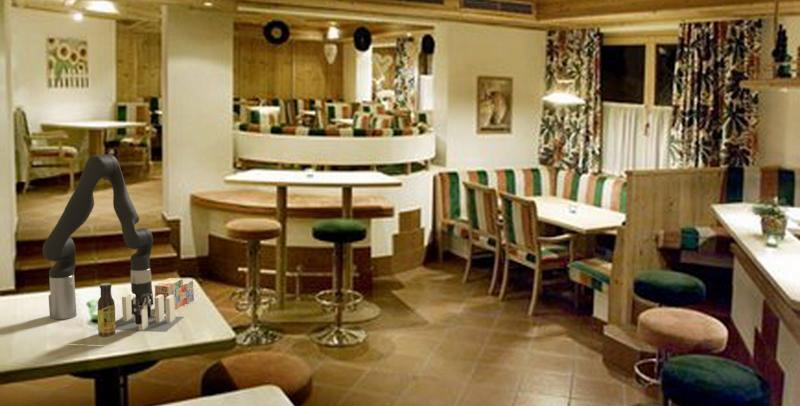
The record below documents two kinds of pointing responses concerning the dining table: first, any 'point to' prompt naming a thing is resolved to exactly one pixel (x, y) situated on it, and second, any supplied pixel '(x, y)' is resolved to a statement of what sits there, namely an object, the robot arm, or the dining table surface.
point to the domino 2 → (144, 318)
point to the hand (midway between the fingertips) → (143, 320)
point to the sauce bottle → (106, 312)
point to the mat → (152, 324)
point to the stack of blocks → (176, 291)
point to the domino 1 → (126, 307)
